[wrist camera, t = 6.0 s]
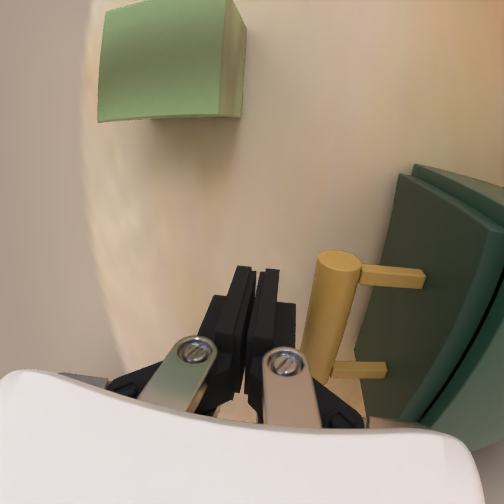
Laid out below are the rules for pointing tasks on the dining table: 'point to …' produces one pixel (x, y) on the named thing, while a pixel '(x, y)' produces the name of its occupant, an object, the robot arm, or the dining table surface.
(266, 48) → the dining table surface
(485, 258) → the drawer
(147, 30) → the block
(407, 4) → the dining table surface
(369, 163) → the dining table surface
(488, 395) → the cabinet
